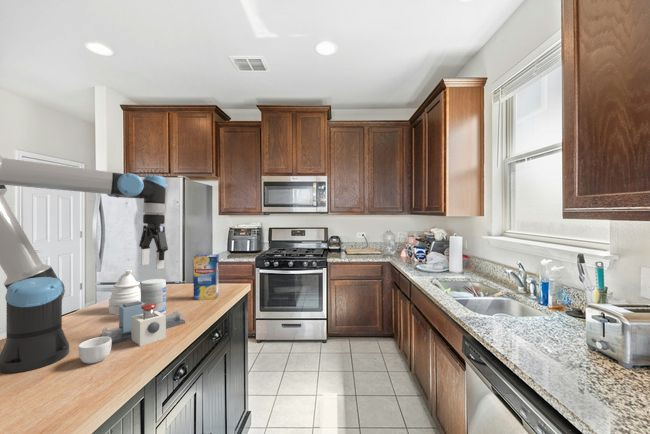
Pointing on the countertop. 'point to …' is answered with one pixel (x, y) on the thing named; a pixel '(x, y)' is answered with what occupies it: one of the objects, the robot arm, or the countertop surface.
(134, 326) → the white push button housing
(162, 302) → the supplement tub
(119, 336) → the rail
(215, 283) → the blue cardboard box
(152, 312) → the plunger
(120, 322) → the carriage
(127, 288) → the honey pot
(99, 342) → the teacup
